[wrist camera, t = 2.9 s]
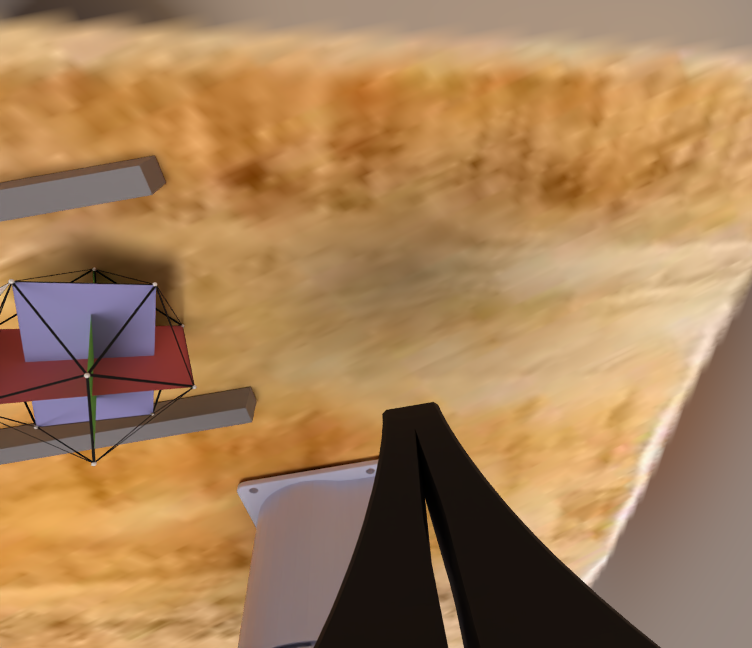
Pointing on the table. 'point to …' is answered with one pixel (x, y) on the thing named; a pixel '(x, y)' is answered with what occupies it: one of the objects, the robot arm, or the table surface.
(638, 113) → the table surface
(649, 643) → the robot arm
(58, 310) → the geometric puzzle
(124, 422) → the u-shaped frame
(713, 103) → the table surface
